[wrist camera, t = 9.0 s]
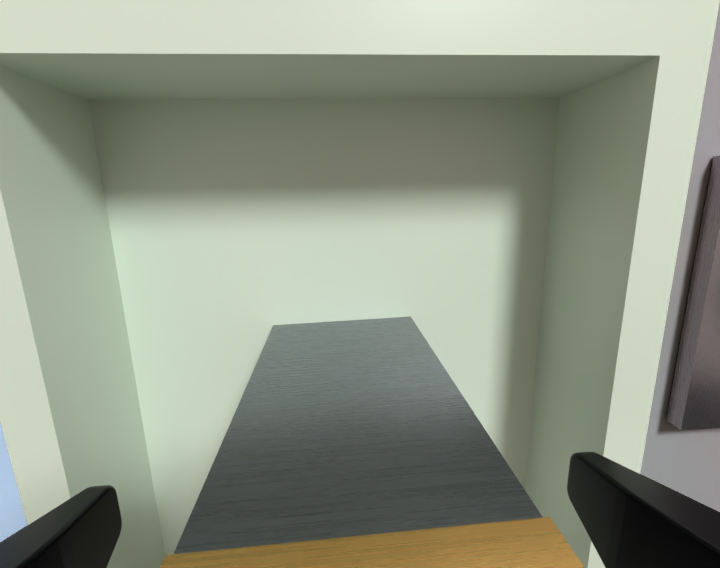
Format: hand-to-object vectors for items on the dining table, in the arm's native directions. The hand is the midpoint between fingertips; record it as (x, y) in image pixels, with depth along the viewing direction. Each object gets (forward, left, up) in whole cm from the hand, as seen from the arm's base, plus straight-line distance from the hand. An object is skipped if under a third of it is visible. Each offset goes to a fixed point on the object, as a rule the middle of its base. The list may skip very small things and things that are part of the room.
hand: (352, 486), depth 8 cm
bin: (0, 0, -5) cm, 5 cm away
